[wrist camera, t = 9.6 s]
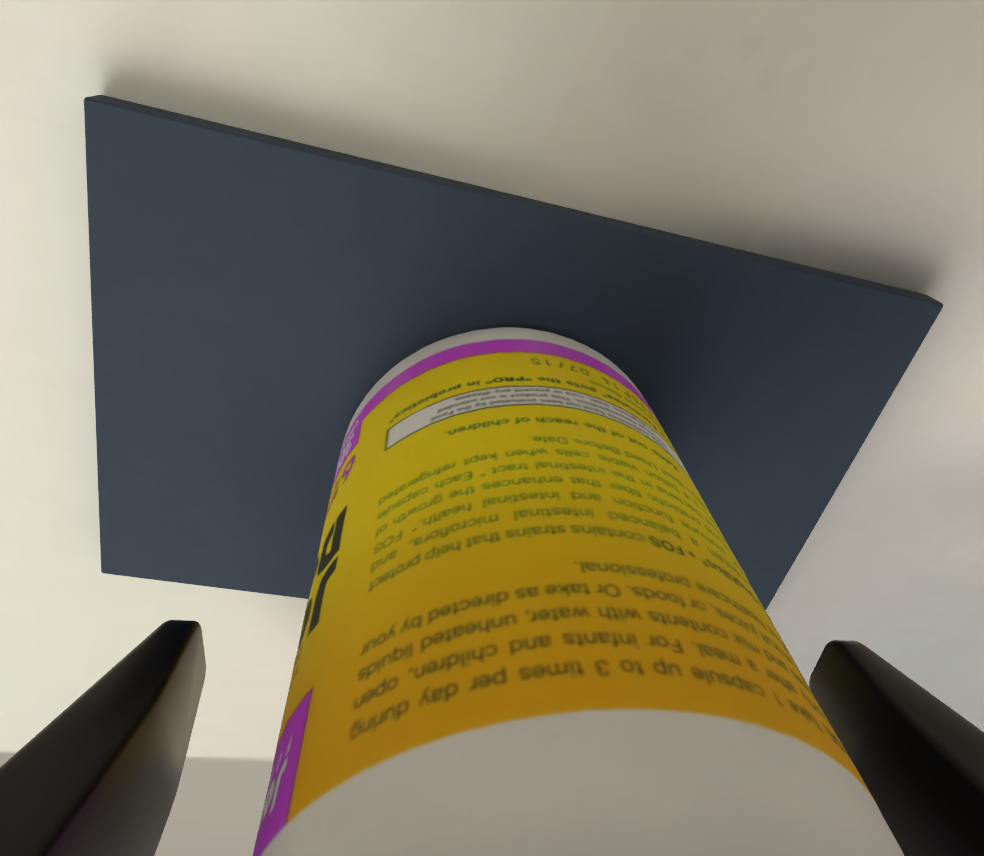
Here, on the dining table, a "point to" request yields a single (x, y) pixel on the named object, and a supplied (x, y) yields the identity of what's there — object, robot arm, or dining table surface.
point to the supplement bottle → (541, 638)
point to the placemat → (427, 341)
